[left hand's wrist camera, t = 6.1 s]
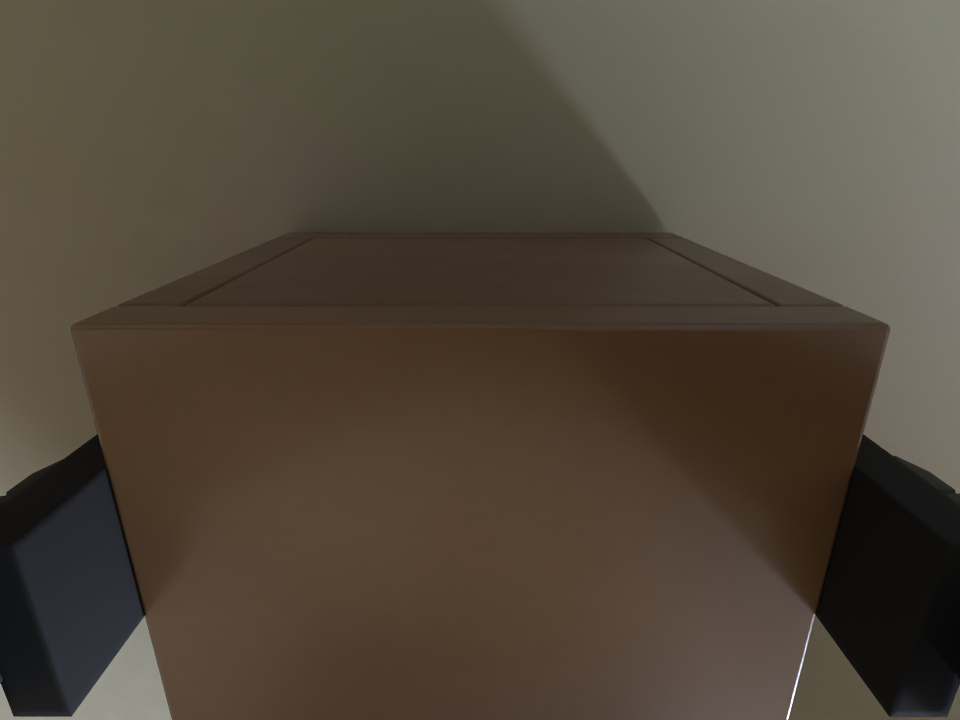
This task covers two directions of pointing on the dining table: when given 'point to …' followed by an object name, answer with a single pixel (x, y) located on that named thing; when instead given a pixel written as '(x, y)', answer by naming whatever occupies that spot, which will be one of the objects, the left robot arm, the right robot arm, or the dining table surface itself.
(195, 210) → the dining table surface
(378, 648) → the cabinet
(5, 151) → the dining table surface
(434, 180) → the dining table surface
